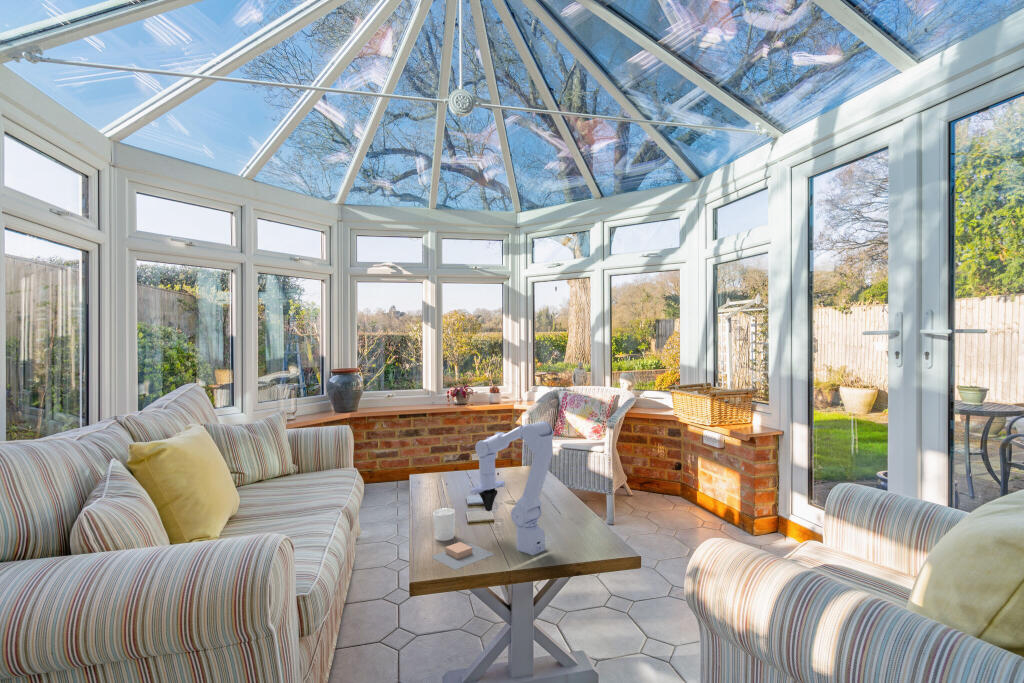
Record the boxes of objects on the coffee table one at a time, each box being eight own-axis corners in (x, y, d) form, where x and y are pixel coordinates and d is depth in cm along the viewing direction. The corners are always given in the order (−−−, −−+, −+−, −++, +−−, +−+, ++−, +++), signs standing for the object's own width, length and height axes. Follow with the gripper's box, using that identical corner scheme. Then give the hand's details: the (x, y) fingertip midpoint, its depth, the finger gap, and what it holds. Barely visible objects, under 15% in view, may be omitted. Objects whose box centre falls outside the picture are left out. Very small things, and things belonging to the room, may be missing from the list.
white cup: (440, 545, 173) (439, 516, 173) (430, 538, 179) (429, 511, 179) (459, 539, 177) (458, 511, 178) (449, 533, 184) (448, 506, 184)
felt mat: (494, 556, 162) (494, 554, 162) (454, 572, 151) (454, 569, 151) (469, 545, 172) (469, 542, 172) (430, 558, 161) (430, 556, 161)
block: (472, 547, 162) (457, 552, 158) (472, 554, 162) (457, 559, 158) (460, 541, 168) (445, 547, 164) (460, 548, 168) (445, 553, 164)
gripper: (495, 467, 186) (496, 503, 186) (464, 474, 177) (465, 512, 176) (507, 470, 181) (509, 507, 181) (476, 478, 171) (477, 517, 171)
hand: (488, 510), depth 178 cm, fingers closed
